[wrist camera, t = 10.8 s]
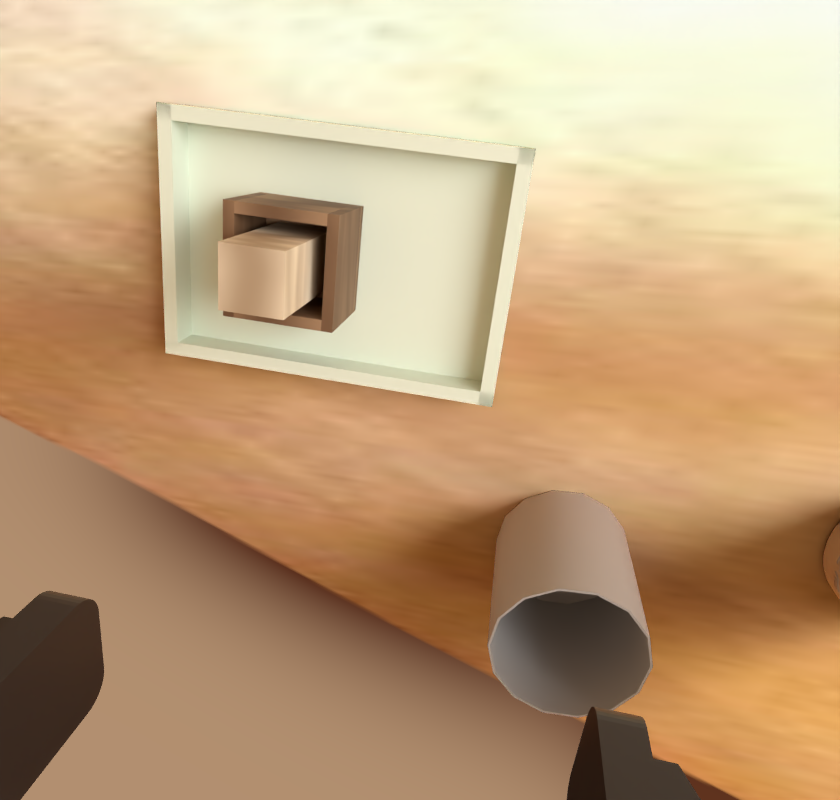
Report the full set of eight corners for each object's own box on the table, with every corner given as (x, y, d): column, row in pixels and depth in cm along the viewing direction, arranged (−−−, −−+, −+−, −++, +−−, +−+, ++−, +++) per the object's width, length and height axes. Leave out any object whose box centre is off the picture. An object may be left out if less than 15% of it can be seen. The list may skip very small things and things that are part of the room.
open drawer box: (363, 206, 37) (339, 215, 32) (355, 310, 39) (332, 333, 34) (260, 191, 37) (222, 199, 33) (258, 295, 40) (222, 315, 35)
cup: (474, 560, 45) (460, 668, 36) (537, 468, 42) (539, 562, 32) (582, 617, 45) (595, 739, 36) (653, 531, 42) (687, 641, 33)
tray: (535, 148, 35) (535, 149, 33) (494, 392, 40) (491, 406, 38) (178, 104, 37) (156, 102, 35) (184, 341, 42) (165, 353, 40)
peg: (334, 229, 37) (285, 251, 29) (331, 285, 38) (283, 320, 31) (279, 221, 37) (217, 241, 30) (278, 277, 38) (218, 309, 31)
